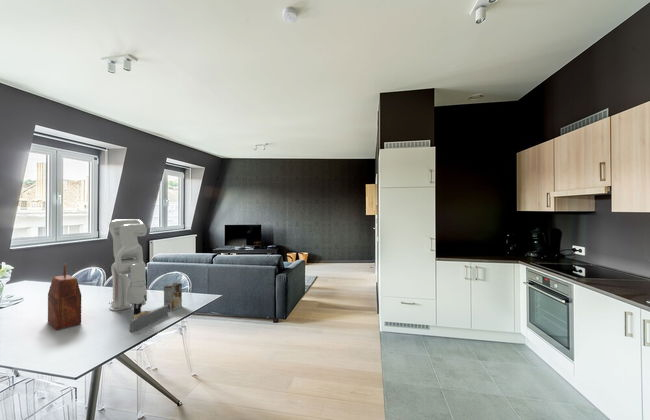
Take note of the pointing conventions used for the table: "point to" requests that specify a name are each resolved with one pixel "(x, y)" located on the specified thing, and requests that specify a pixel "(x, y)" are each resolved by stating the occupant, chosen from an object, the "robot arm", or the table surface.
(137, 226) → the robot arm
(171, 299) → the coffee box
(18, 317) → the table surface
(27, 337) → the table surface
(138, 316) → the oak block
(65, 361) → the table surface
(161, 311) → the gray flat board
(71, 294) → the wooden peaked block
